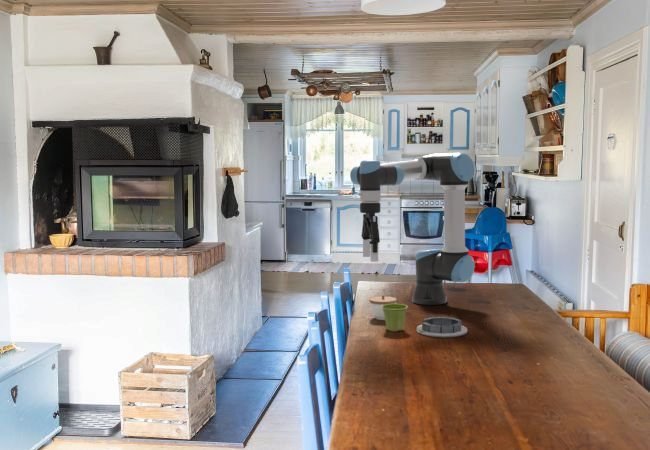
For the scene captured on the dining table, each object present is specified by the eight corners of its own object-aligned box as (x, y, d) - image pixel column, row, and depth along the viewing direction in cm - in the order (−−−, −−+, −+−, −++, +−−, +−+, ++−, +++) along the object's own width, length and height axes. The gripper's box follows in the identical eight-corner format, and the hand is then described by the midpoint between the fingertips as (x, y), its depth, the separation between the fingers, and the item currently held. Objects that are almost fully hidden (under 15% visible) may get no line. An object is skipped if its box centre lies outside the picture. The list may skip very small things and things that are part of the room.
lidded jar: (387, 322, 258) (387, 298, 257) (364, 319, 264) (364, 295, 263) (402, 317, 266) (401, 294, 265) (379, 314, 273) (378, 291, 272)
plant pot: (406, 333, 241) (406, 309, 240) (380, 332, 243) (380, 308, 242) (408, 327, 250) (408, 304, 250) (383, 326, 252) (383, 303, 251)
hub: (442, 323, 256) (442, 313, 255) (477, 332, 241) (477, 322, 240) (406, 329, 246) (406, 320, 246) (440, 340, 231) (440, 330, 231)
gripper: (353, 200, 261) (354, 255, 263) (367, 203, 236) (367, 263, 238) (372, 200, 262) (372, 254, 264) (388, 203, 237) (388, 263, 239)
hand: (370, 259), depth 251 cm, fingers open, 13 cm apart
